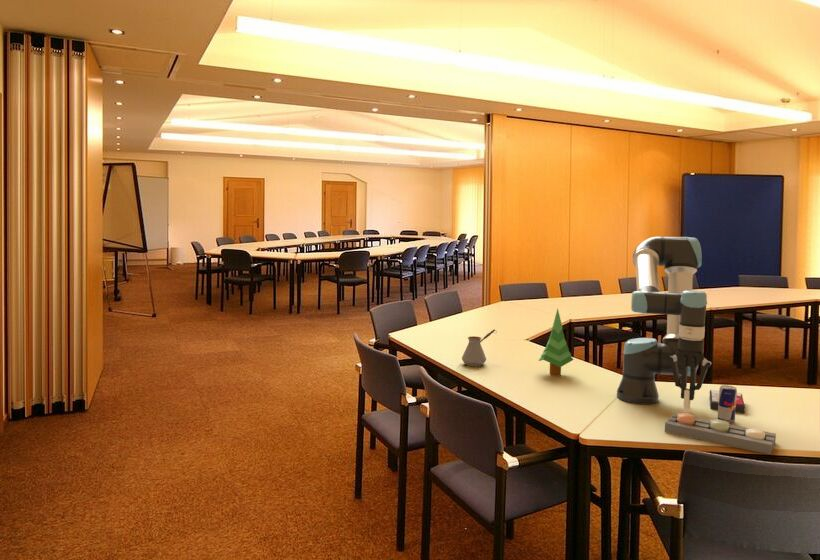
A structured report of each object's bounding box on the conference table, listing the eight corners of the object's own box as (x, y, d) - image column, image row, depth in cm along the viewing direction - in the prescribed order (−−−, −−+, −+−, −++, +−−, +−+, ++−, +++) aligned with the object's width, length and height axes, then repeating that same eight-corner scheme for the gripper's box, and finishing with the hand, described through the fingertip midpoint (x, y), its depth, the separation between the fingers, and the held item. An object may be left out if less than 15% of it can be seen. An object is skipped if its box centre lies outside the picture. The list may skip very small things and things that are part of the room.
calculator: (711, 400, 220) (710, 387, 233) (710, 411, 221) (709, 398, 234) (745, 404, 215) (742, 391, 229) (744, 416, 216) (741, 402, 229)
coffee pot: (475, 368, 273) (476, 336, 272) (456, 364, 282) (457, 332, 280) (503, 361, 288) (504, 330, 287) (485, 357, 296) (486, 327, 295)
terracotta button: (675, 424, 197) (675, 415, 197) (679, 420, 201) (679, 411, 201) (692, 428, 194) (692, 419, 194) (695, 423, 198) (696, 415, 198)
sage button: (708, 431, 191) (709, 422, 191) (711, 427, 195) (712, 418, 195) (726, 435, 188) (727, 426, 188) (729, 430, 192) (730, 421, 192)
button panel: (664, 431, 196) (665, 422, 196) (673, 422, 205) (674, 413, 205) (770, 454, 178) (771, 445, 178) (775, 442, 188) (776, 433, 187)
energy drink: (727, 424, 204) (729, 390, 203) (713, 419, 209) (716, 385, 208) (738, 422, 206) (740, 388, 205) (724, 417, 211) (726, 384, 210)
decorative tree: (565, 370, 273) (567, 305, 270) (575, 379, 257) (578, 310, 254) (535, 370, 272) (537, 305, 269) (544, 379, 257) (547, 310, 254)
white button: (743, 441, 185) (744, 431, 185) (746, 436, 189) (747, 427, 189) (763, 445, 182) (763, 435, 182) (765, 440, 186) (766, 431, 186)
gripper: (667, 337, 195) (662, 407, 198) (710, 342, 187) (705, 415, 190) (672, 334, 201) (668, 402, 204) (715, 339, 193) (710, 410, 196)
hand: (686, 408), depth 197 cm, fingers closed
